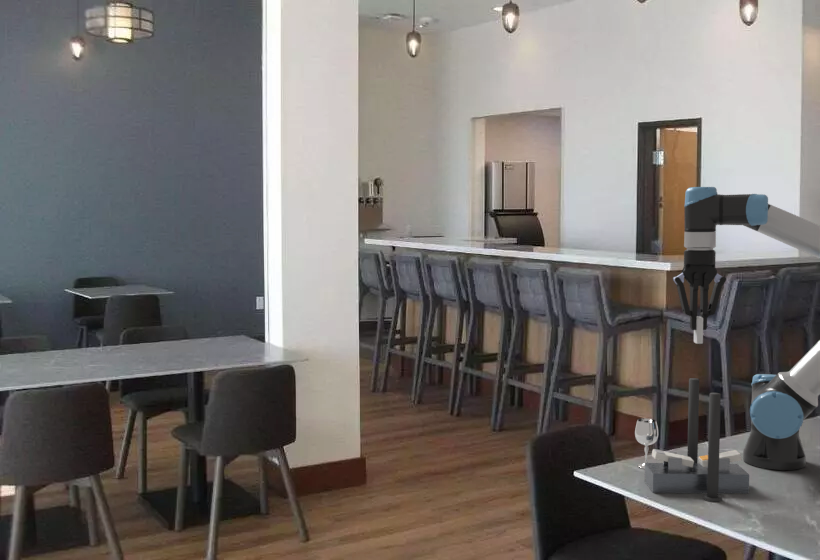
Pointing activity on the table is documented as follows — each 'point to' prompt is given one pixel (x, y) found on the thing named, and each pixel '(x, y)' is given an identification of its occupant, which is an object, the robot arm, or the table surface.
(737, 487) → the panel
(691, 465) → the paddle
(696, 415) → the post far
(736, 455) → the paddle
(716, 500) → the post near
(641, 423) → the wineglass
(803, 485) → the table surface
